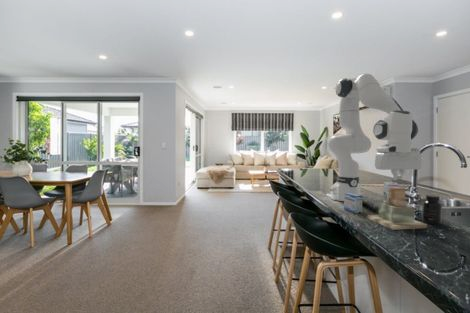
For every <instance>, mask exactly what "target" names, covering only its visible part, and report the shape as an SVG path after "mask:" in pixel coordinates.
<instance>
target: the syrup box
mask: <svg viewBox="0 0 470 313" xmlns="http://www.w3.org/2000/svg"><path fill="white" fill-rule="evenodd" d="M389 187H399V188H400V184H399V183H397V182H395V181H393V182H392V181H384V182H383V200H382V203H385V202H388V198H389Z"/></svg>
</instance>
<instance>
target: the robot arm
mask: <svg viewBox="0 0 470 313" xmlns="http://www.w3.org/2000/svg"><path fill="white" fill-rule="evenodd" d="M335 94H336V95H337V97H340V101H339V119H338V120H339V126H340V128H341V129H343V130H345V131H346V133H347V134H338V135H335V136H330V138H329V139H328V143H327V147H328V149H329V151H330V152H332V154H333V155H334V156H335V158H336V160H337V164H338V176H336V182H335V183H334V184H332V185H331V186H330V188H329V191H330V192H329V193H326V196H327V197H328V198H330V199H331V200H332V201H339V202H344V196H345V193H353V194H357V195H361V194H362V193H361V186H360V185H359V183H360V177H359V171H360V170H359V168H360V166H359V163H358V161H356V160H354V159H353V158H352V154H363V153H367V152H369V151H370V149H371V147H372V141H371V139H370V138H369V136H367V135H366V133H364V131H363V129H362V127H361V126H362V125H361V119H360V102H361V104H362V105H363V106H365V107H366V108H368V109H374V110H377V111H382V112H385V113H386V114H388V115H387V116H386V117H384V118H383V119H379V120H378V121H376V122H375V123H374V125H373V135H374V137H375V138H376V139H377V140H380V141H387V143H385V144H382V145H379V146H377V147H376V152H377V153H376V155H375V160H374V168H376V170H381V171H384V170H390V172H391V174H392V176H393V177H392V179H393V181H402V180H403V176H404V175H405V173H406V170H420V169H421V168H422V156H421V151H420V149H419V148H417V147H414V148H413V147H412V144H413V143H412V141H413V139H414V138H415V137H416V136H417V135H418V133H419V128H418V124H417V123H416V122H415V120H413V116H412V113H411V112H410V111H407V110H404V109H403V107H401V105H400V104H399V103H398V102H397V101H396V99H394V98H393V97H392V96H391V95H389V94H388V93H387V92H386V91H385V90H384V89H383V88H382V87H381V85H380V82H378V80H377V79H376V78H375V77H374V76H373V74H371V73H363V74H361V75H359V76H358V77H353V78H350V77H349V78H347V77H345V78H341V79H339V80H338V81H337V83H336V86H335ZM361 196H362V195H361Z"/></svg>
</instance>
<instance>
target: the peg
mask: <svg viewBox="0 0 470 313" xmlns="http://www.w3.org/2000/svg"><path fill="white" fill-rule="evenodd" d="M405 204H406V188H404V187H400V186H399V187H389V198H388V205H391V206H394V207H405Z"/></svg>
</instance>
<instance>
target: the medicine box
mask: <svg viewBox="0 0 470 313" xmlns="http://www.w3.org/2000/svg"><path fill="white" fill-rule="evenodd" d="M363 200H364V199H363V195H357V194H353V193H345V196H344V201H343V210H344V209H345V210H344V211H347V210H348V211H349V212H350V213H355V214H358V213H359V212H361V213H363ZM359 214H360V213H359Z"/></svg>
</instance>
